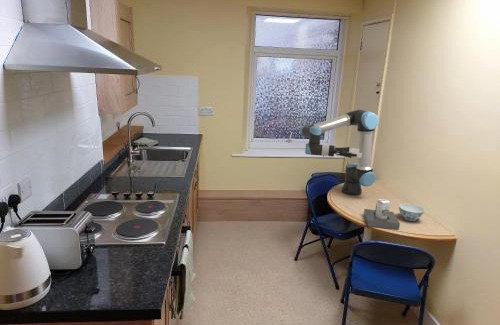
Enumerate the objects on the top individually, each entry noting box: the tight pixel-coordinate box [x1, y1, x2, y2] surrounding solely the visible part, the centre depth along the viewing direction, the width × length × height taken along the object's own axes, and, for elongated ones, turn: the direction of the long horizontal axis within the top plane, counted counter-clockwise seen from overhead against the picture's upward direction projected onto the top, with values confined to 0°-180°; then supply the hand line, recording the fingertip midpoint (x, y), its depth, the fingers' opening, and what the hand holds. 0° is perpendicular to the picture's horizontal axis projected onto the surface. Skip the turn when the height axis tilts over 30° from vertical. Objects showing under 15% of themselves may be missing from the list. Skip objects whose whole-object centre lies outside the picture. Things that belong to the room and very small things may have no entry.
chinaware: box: [398, 202, 425, 222], centre depth 223 cm, size 15×15×8 cm
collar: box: [363, 208, 401, 230], centre depth 217 cm, size 18×18×4 cm
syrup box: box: [374, 198, 391, 219], centre depth 215 cm, size 6×6×14 cm
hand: (360, 153), depth 231 cm, fingers open, 13 cm apart
